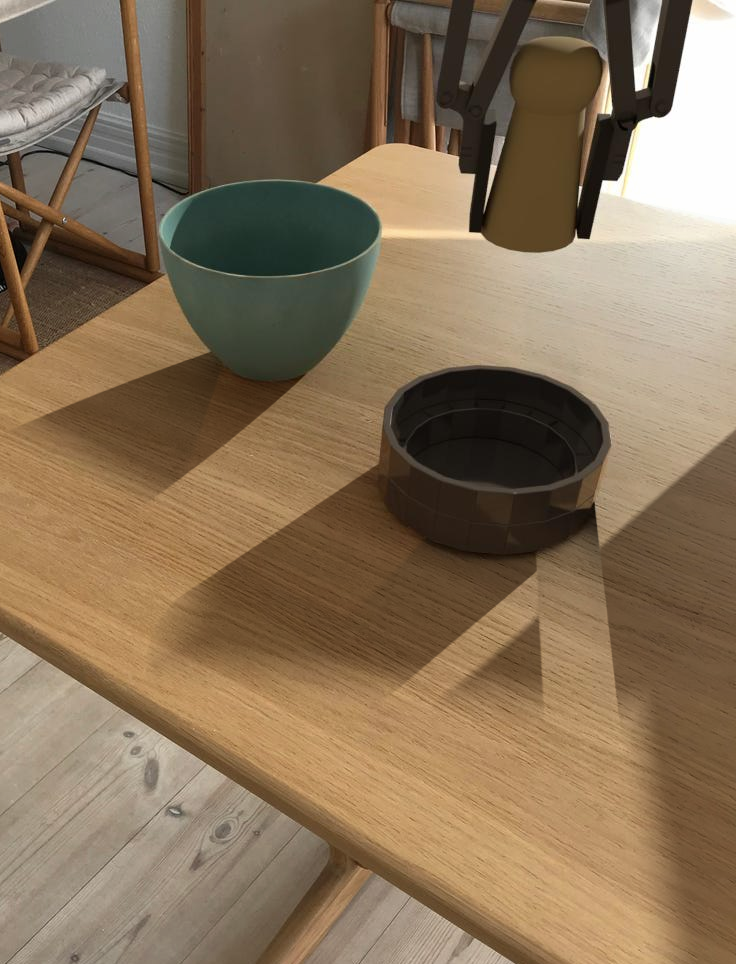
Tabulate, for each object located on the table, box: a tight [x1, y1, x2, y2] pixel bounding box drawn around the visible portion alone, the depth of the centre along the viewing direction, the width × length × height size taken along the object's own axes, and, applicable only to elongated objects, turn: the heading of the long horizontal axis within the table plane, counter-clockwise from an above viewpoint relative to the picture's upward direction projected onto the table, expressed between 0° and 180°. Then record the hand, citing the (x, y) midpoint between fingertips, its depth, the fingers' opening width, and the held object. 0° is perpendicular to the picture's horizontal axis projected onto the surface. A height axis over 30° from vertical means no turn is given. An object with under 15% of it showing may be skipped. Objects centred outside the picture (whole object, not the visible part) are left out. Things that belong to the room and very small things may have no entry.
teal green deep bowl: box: [158, 179, 383, 383], centre depth 89 cm, size 18×18×12 cm
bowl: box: [376, 364, 613, 556], centre depth 77 cm, size 16×16×6 cm
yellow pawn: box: [480, 35, 604, 254], centre depth 63 cm, size 6×6×11 cm
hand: (528, 225), depth 66 cm, fingers closed on yellow pawn, 6 cm apart
